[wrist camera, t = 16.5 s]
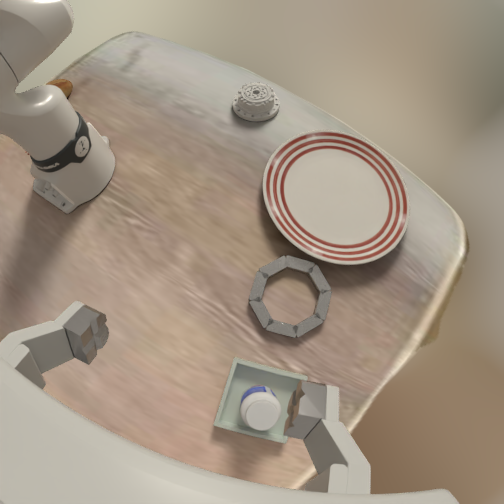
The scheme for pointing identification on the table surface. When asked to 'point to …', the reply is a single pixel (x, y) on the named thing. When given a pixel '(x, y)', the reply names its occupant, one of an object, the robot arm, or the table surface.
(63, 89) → the bread roll
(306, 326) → the collar
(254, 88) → the mechanical component
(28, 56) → the robot arm
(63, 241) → the table surface
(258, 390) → the pill bottle
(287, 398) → the bin
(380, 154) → the dinner plate
